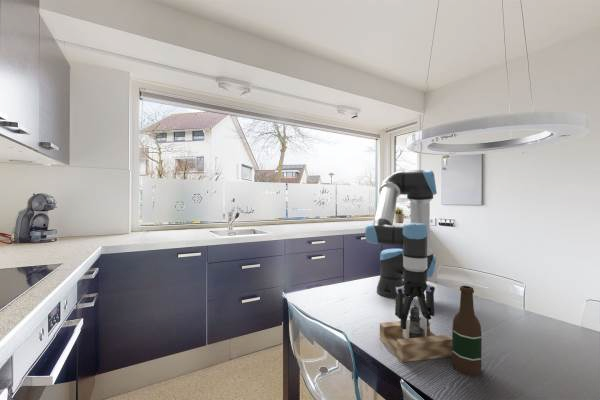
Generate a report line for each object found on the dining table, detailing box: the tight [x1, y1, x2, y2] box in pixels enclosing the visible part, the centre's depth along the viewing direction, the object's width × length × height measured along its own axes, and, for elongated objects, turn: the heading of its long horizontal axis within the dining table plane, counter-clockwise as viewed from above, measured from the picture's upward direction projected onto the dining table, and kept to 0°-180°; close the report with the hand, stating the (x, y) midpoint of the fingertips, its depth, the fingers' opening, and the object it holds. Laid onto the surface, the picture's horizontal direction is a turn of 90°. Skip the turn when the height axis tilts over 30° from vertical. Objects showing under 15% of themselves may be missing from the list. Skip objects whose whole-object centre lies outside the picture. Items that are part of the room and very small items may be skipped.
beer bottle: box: [451, 285, 483, 377], centre depth 78 cm, size 8×8×24 cm
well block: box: [379, 319, 452, 363], centre depth 90 cm, size 18×14×6 cm
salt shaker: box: [408, 304, 424, 338], centre depth 90 cm, size 6×6×12 cm
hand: (414, 337), depth 90 cm, fingers closed on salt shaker, 6 cm apart
